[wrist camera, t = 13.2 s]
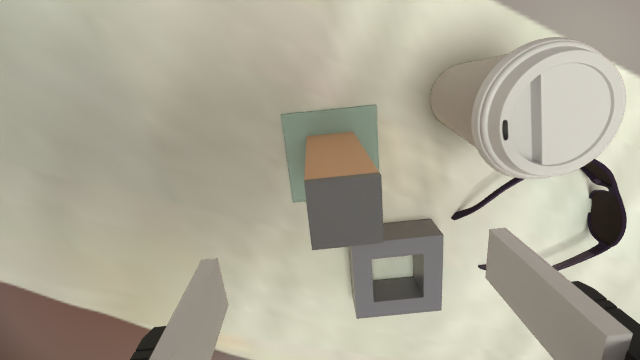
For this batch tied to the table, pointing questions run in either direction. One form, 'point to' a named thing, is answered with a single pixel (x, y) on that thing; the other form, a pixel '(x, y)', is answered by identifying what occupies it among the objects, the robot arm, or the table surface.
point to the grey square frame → (399, 292)
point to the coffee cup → (534, 106)
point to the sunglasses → (602, 219)
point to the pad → (325, 123)
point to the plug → (342, 192)
